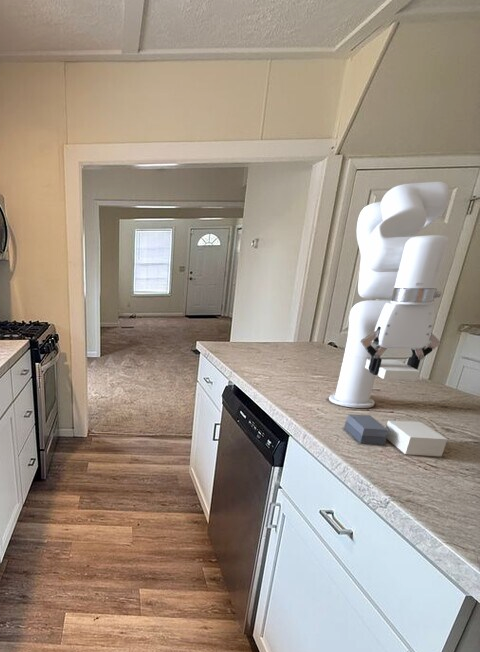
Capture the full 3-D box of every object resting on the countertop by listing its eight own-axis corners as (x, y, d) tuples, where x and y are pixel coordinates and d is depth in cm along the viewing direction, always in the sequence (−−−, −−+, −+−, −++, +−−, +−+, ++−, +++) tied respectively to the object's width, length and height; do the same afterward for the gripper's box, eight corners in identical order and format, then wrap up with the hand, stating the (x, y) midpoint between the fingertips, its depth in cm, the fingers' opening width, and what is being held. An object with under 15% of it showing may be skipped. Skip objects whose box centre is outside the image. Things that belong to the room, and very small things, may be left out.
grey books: (344, 427, 110) (347, 413, 108) (366, 428, 109) (369, 415, 107) (360, 443, 100) (363, 428, 98) (384, 444, 99) (388, 429, 97)
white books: (383, 436, 104) (387, 420, 102) (416, 438, 102) (421, 422, 101) (405, 454, 94) (410, 437, 92) (441, 456, 92) (447, 439, 91)
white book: (364, 367, 103) (366, 359, 102) (395, 368, 101) (397, 359, 100) (383, 379, 93) (385, 370, 92) (417, 380, 92) (420, 371, 91)
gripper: (447, 295, 91) (423, 371, 98) (362, 295, 95) (345, 369, 102) (467, 298, 85) (441, 379, 91) (375, 298, 88) (357, 376, 95)
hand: (391, 373), depth 96 cm, fingers closed on white book, 7 cm apart
